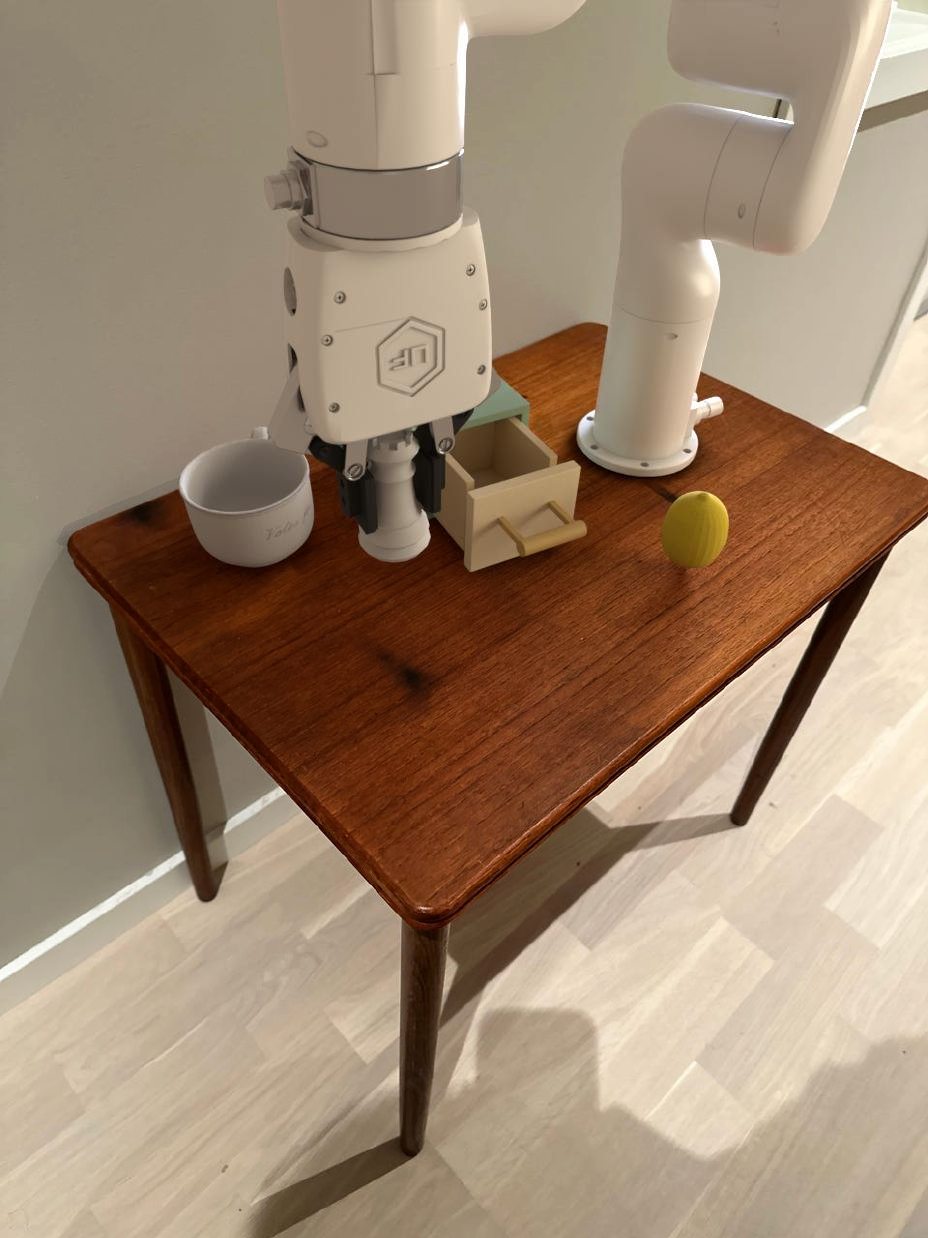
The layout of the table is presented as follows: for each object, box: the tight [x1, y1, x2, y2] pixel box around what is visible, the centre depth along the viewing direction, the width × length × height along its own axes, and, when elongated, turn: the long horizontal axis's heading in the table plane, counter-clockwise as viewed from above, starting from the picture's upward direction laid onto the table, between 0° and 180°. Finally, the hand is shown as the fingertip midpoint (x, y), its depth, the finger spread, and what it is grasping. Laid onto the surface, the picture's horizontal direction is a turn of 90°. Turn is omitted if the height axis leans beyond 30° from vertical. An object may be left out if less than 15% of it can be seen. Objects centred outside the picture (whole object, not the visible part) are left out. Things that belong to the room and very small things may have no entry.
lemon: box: [660, 490, 730, 569], centre depth 75 cm, size 6×6×8 cm
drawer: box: [433, 416, 588, 573], centre depth 76 cm, size 17×10×8 cm, turn 29°
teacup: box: [177, 426, 315, 568], centre depth 76 cm, size 14×11×8 cm
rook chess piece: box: [357, 428, 431, 563], centre depth 51 cm, size 4×4×8 cm
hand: (393, 507), depth 52 cm, fingers closed on rook chess piece, 3 cm apart
